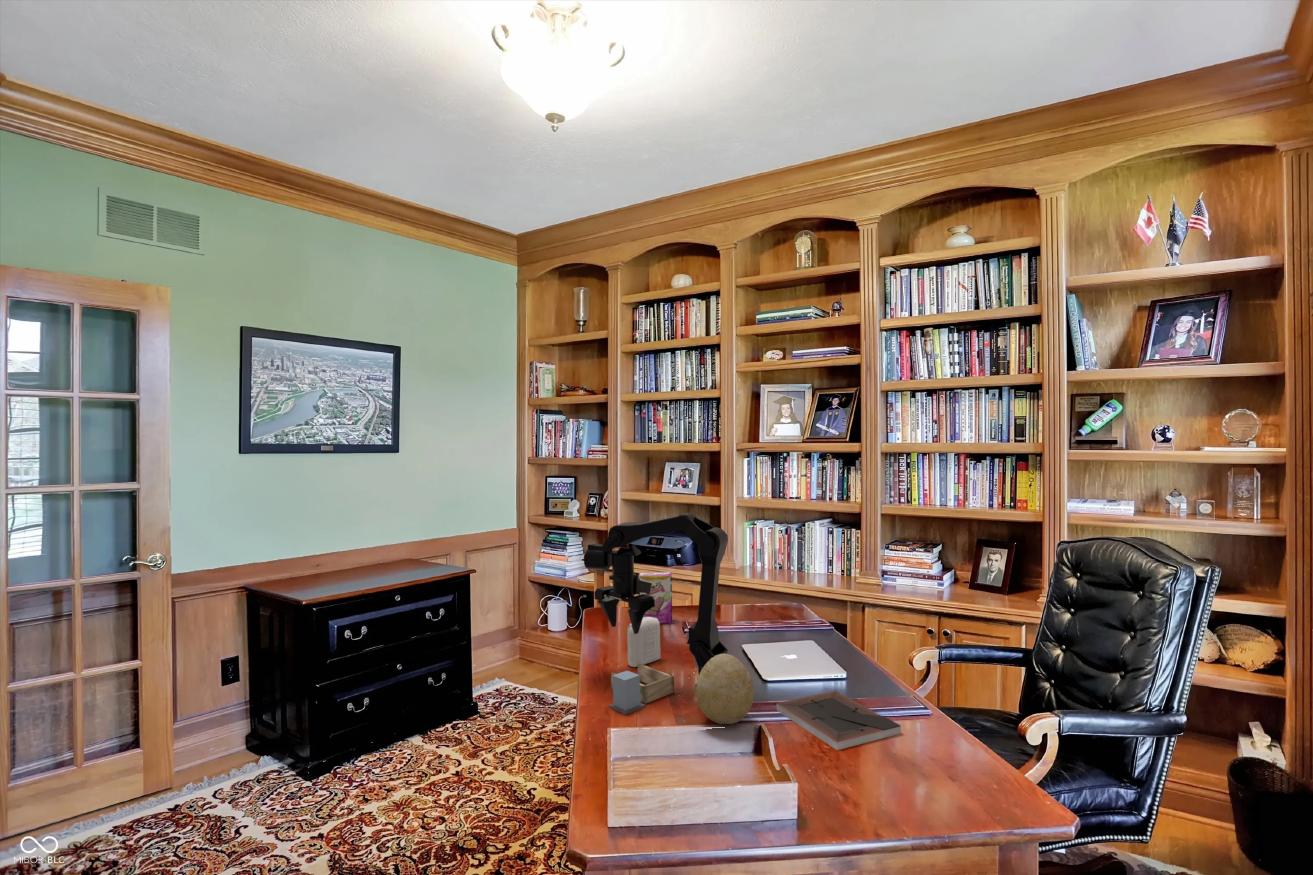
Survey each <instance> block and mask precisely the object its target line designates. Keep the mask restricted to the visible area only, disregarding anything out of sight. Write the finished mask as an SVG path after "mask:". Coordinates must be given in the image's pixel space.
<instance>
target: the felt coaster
mask: <svg viewBox="0 0 1313 875" xmlns="http://www.w3.org/2000/svg"><path fill="white" fill-rule="evenodd" d="M608 708H609V709H612V710H615V711H616V712H618V713H621V714H623V715H629V714H631V713H633V712H637V711H639V710H641V709H643V708H646V704H645V703H642V702H640V705H639V706H636V707H634V708H631V709H629V710H623V709H621V708H619V707H616V706H614V705H613V703H611V704H609V705H608Z"/></svg>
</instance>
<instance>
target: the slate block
mask: <svg viewBox="0 0 1313 875" xmlns="http://www.w3.org/2000/svg"><path fill="white" fill-rule="evenodd" d="M640 683H641V681H640V675H638V673H636V672H633V671H630V670H624V671H622V672H619V673H616V675H613V690H612V700H613V703H612V704H613V705H614V706H616V707H619V708H621V709H623V710H629V709H631V708H634V707H636V706H639V705H640V703H641V702H640Z"/></svg>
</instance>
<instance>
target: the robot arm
mask: <svg viewBox="0 0 1313 875" xmlns="http://www.w3.org/2000/svg"><path fill="white" fill-rule="evenodd" d="M678 531H682V532H683V533H684V534H685V535H686V536H687V537H688V538H689V540H691V541H692V542H693V543H695V544H696V545H697V547H698V556H699V559H700V562H701V576H700V585H699V586H700V588H699V597H698V598H699V599H698V610H697V611H698V612H697V620H696V621H695V623H693V624H692V625H690V626H689V627H688V640H687V642H686V644H687V645H688V648H689V651H690V653H691V655H693V656H694V658H695V661H696V665H697V667H698V675H699V674H700V672H701V670H702V669H703V667H704V666H705V664H706V663H707V662H708V661H709V660H710V659H711V658H713V657H714V656H716V655H719V654H729V649H728V648H727V647H726V646H725V645H724V644H723V642H721V641H720V636H719V628H718V625H717V622H716V616H717V615H716V614H717V603H718V602H717V600H718V591H719V581H720V580H719V578H720V568H721V567H720V566H721V563H722V562H723V559H724V556H725V553H726V550H727V546H728V543H729V542H728V541H729V537H728V534H727V532H726V531H725V530H724V529H722V528H720V527H715V526H714V525H712V524H710V523H709V522H707V521H704V520H702V519H700V518H698V517H696V515H694V514H692V513H690V512H685V513H682V514H680V515H676V516H675V515H674V516H670V517H666V518H661V519H656V520H651V521H648V522H630V521H629V522H628V521H627V522H622V523H619V524H616V525H613V526H611V527H610V528H609V530H608V532H607V538H606V539H605V541H603V543H602V544H598V543H590V544H589V543H588V544H587V549H586V551H585V554H584V557H583V564H584V567H585V568H586V569H587V570H593V571H594V570H596V571H597V570H598V571H609V570H610V568H611V569H612V570H611V571H612V574H611V575H609V576H608V577H609V578H608V580H609V581H610V580H611V581H612V585H607V586H602V587H598V588H596V589H595V591H594V600H597V604H599V605H600V607H601V608H602V610H603V612H604V614H605V615H606V619H607V621H608V622H609V623H610V626H611V627H612V628H615V627H616V626H617V621H618V620H617V613H618V605H619V603H620V602H621V601H622V602H624V603H627V604H628V607H629V609H627V612H628V616H629V620H630V624H631V625H632V629H633V632H634V634H638V632H639V629H640V626H641V622H642V619H643V617H644V614H645V613H646V612H647V611H648V610H651V608H652V607H655V599H654V598H653V597H652V596H650V591H651V587H652V583H649V582H645V581H641V580H639V574H636V573H635V567H634V566H635V564H634V563H635V562H634V557H637V556H638V555H640V554H642V551H641V550H640V549H639V548H638V547H636V545H635V544H634V545H631V546H630V547H624V546H627V545H629V544H632V543H635V542H636V541H639V540H642V539H643V538H649V537H655V536H659V535H663V534H670V533H673V532H678ZM617 548H619V549H618V550H614V549H617ZM640 593H647V594H648V595H646V594H642V595H639V594H640ZM696 685H697V683H695V687H696Z"/></svg>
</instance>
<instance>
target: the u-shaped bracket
mask: <svg viewBox="0 0 1313 875" xmlns="http://www.w3.org/2000/svg"><path fill="white" fill-rule="evenodd" d="M616 674H617V673H615V672H611V673H610V686H611V687H610V688H611V691H613V675H616ZM637 674H638V675H640V703H642V704H644V705H646V704H648V703H651V702H653V701H656V700H658V699H661V698H663V697H665V696H668V695H672V694H674V693H675V676H674V675H672V674H669V673H666V672H663V671H660V670H658V669H655V668H652V667H650V666H647V665H646V664H644V665H642V664H638V666H637ZM641 682H642V683H643V684H642V683H641ZM644 683H645V684H644Z"/></svg>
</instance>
